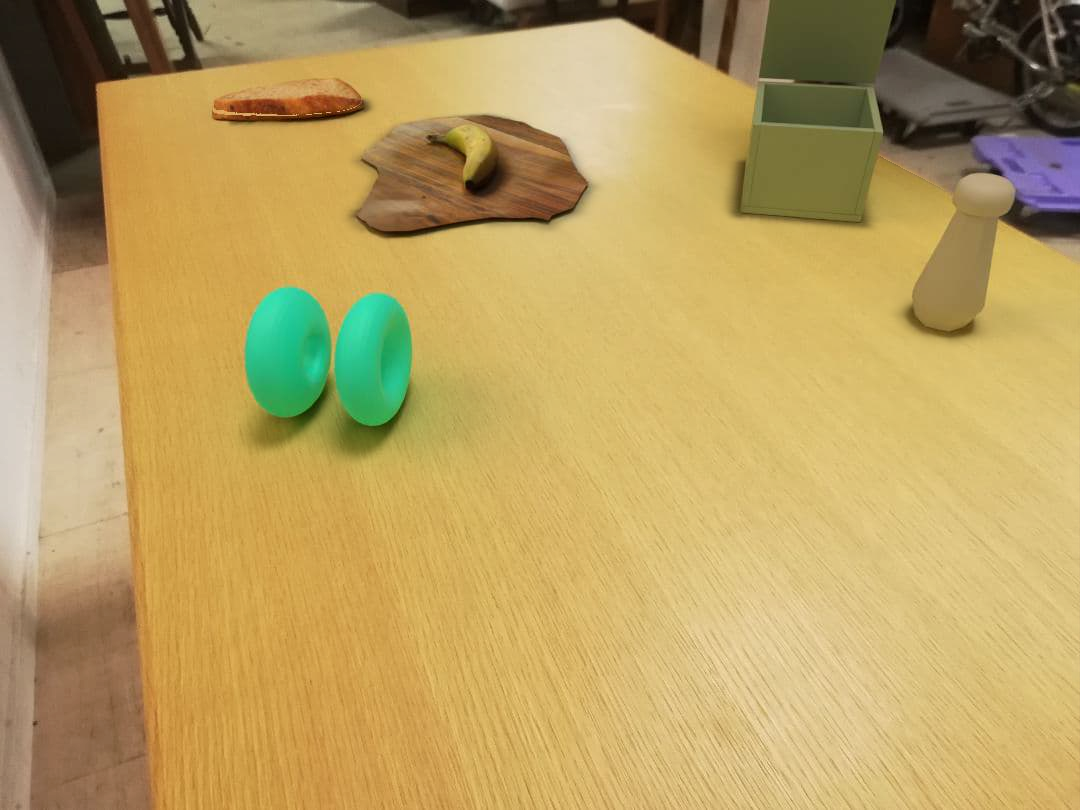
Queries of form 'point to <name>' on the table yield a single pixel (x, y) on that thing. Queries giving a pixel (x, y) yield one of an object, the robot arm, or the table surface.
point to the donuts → (328, 355)
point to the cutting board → (468, 173)
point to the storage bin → (811, 150)
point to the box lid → (825, 40)
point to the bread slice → (291, 100)
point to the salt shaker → (963, 254)
